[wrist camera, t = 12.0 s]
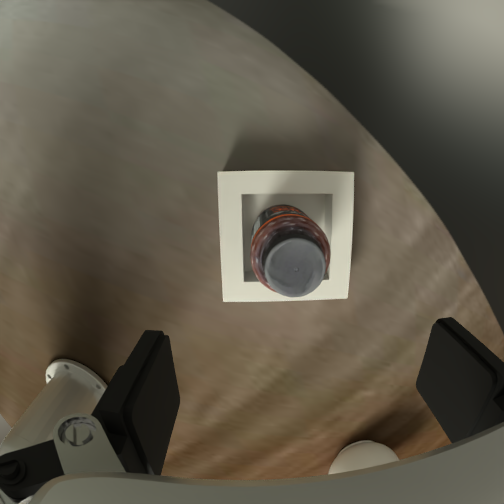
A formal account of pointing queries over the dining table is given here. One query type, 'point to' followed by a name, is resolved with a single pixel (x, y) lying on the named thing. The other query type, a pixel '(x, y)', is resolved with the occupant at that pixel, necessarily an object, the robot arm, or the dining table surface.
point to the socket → (289, 193)
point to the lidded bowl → (362, 456)
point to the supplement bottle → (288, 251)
